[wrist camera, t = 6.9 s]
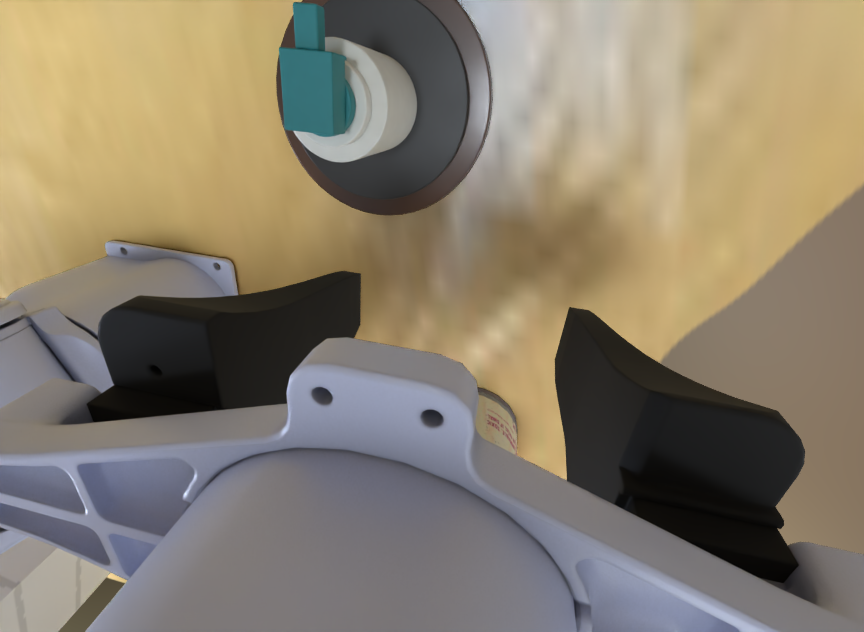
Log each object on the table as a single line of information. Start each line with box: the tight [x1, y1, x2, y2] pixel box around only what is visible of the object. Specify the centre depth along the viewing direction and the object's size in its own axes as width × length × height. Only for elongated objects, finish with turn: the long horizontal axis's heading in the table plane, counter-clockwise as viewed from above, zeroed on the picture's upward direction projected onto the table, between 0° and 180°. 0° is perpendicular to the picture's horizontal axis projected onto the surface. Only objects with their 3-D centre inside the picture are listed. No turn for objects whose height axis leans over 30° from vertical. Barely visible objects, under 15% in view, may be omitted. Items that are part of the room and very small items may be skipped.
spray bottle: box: [279, 0, 469, 200], centre depth 17 cm, size 9×9×8 cm
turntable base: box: [276, 0, 492, 215], centre depth 21 cm, size 11×11×1 cm
